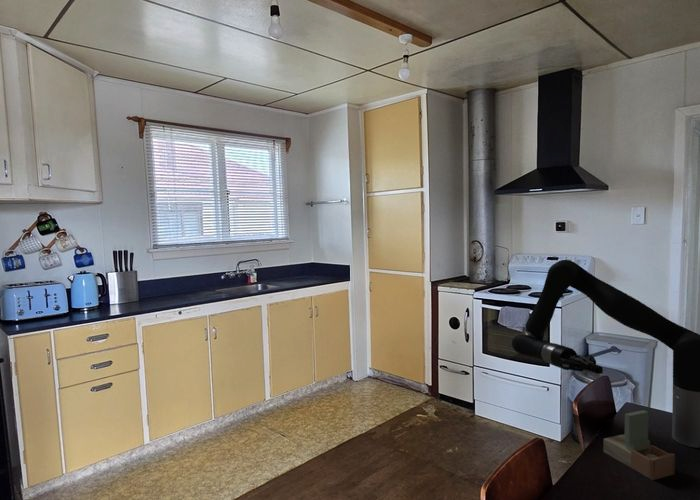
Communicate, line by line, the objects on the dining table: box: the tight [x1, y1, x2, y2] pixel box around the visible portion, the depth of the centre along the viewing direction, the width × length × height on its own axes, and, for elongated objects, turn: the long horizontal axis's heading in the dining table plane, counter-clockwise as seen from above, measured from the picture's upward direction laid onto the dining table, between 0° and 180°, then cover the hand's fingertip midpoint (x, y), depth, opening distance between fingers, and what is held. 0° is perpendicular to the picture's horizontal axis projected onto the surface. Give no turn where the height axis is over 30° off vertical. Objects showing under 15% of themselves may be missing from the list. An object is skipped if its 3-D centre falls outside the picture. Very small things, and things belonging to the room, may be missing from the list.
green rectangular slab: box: [624, 409, 651, 452], centre depth 123 cm, size 7×2×10 cm, turn 107°
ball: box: [646, 454, 657, 459], centre depth 119 cm, size 4×4×4 cm
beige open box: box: [602, 433, 651, 468], centre depth 126 cm, size 8×9×4 cm
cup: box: [630, 444, 676, 481], centre depth 119 cm, size 8×6×6 cm
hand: (600, 370), depth 134 cm, fingers closed
